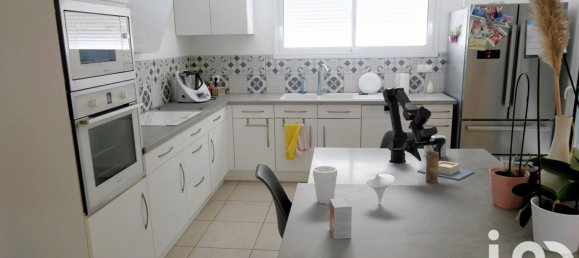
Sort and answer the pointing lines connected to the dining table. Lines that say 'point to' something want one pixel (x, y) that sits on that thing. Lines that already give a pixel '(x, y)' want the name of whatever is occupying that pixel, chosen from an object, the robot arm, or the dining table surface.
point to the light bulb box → (430, 148)
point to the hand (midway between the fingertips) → (430, 160)
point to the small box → (340, 218)
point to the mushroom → (380, 183)
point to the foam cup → (325, 182)
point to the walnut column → (432, 167)
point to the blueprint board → (454, 176)
